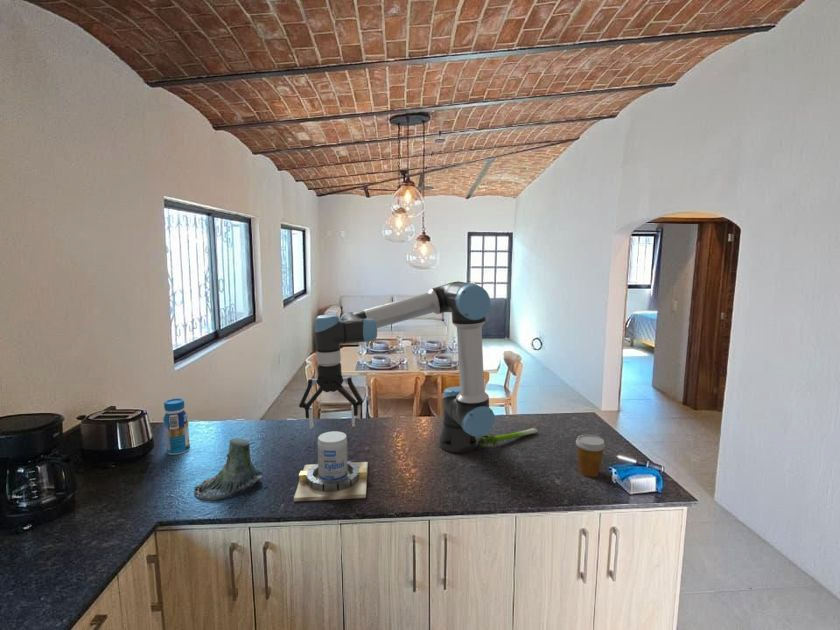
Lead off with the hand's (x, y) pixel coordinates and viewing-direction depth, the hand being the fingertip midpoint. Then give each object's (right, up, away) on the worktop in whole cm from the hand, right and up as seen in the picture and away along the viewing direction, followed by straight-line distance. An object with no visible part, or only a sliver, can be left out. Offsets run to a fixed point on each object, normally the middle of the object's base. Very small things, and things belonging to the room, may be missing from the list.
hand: (332, 426), depth 155 cm
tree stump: (-34, -20, +1) cm, 40 cm away
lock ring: (0, -18, +3) cm, 18 cm away
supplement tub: (0, -18, +3) cm, 18 cm away
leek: (+64, -14, +35) cm, 74 cm away
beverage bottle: (-64, -16, +27) cm, 72 cm away
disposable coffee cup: (+87, -18, +8) cm, 89 cm away
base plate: (0, -19, +3) cm, 19 cm away
